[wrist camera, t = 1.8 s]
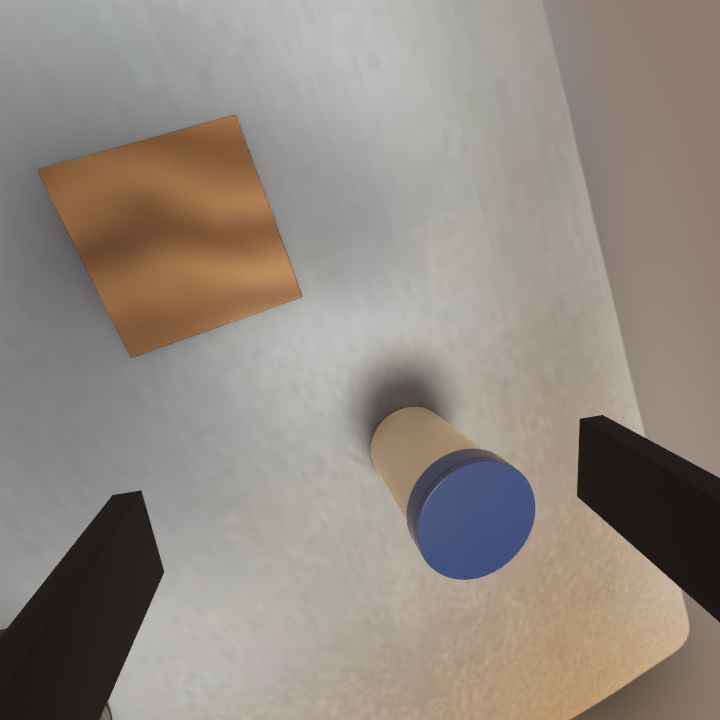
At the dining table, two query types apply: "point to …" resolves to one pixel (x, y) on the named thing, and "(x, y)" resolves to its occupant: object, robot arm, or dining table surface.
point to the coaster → (174, 233)
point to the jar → (412, 448)
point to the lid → (470, 513)
